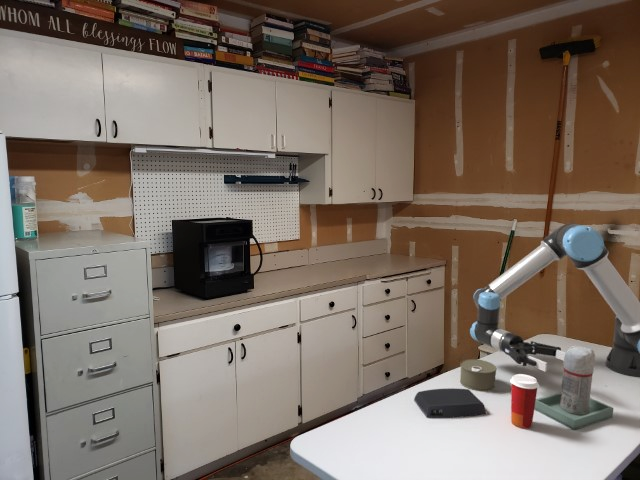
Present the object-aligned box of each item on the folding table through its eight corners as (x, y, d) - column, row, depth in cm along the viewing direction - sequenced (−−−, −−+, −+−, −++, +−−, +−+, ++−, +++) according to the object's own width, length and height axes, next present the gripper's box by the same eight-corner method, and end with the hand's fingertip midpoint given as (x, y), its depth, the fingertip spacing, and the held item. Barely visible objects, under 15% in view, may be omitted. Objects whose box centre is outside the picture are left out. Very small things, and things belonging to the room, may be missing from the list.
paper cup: (534, 419, 142) (537, 375, 140) (536, 432, 135) (540, 386, 133) (506, 415, 144) (509, 371, 143) (507, 427, 137) (510, 381, 135)
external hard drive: (412, 400, 154) (413, 388, 154) (468, 397, 157) (469, 385, 156) (427, 420, 141) (427, 407, 141) (487, 417, 144) (488, 404, 144)
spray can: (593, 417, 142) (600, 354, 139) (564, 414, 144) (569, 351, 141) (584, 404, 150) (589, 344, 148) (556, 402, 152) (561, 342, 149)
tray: (570, 397, 157) (571, 389, 156) (612, 417, 144) (613, 408, 144) (532, 408, 149) (533, 399, 148) (573, 430, 136) (574, 420, 136)
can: (498, 382, 168) (499, 363, 167) (490, 395, 158) (492, 375, 157) (464, 374, 175) (465, 356, 174) (455, 386, 164) (456, 367, 164)
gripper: (530, 347, 175) (584, 368, 156) (481, 358, 164) (532, 382, 145) (532, 328, 174) (586, 346, 155) (482, 337, 163) (534, 358, 144)
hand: (560, 363), depth 150 cm, fingers open, 13 cm apart
